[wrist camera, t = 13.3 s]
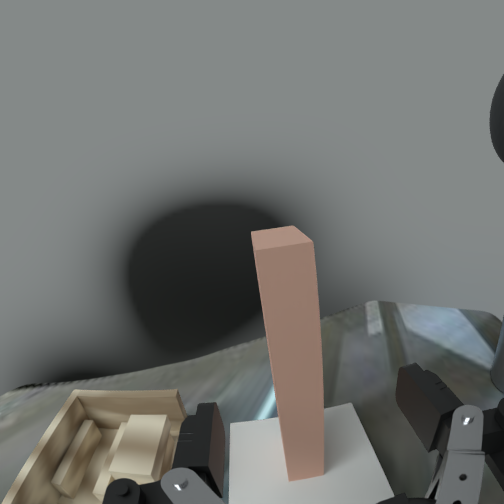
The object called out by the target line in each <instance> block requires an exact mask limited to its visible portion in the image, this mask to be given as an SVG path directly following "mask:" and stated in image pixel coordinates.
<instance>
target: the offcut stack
mask: <svg viewBox="0 0 504 504" xmlns="http://www.w3.org/2000/svg"><path fill="white" fill-rule="evenodd" d="M170 429H171V423H170V421H169V418H168V416H167V415H131V416H130V418H129V421H128V423H127V425H126V428H125V430H124V433H123V435H122V438H121V440H120V443H119V445H118V448H117V450H116V453H115V455H114V458H113V460H112V463H111V465H110V468H109V470H108V471H109V472H110V474H111V475H112V476H113V478H114V479H115V480H117V479H120V478H129V479H132V480H134V481H135V482H136V483H137V484H138V485H140V484H146V483H151V482H156V481H159V480H161V479H162V477H163V475H164V474H165V473H167V472H168V471H170V470H171V468H172V464H173V460H174V455H175V450H176V446H177V442H178V437H177V436H171V434H170Z"/></svg>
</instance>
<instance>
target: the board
mask: <svg viewBox="0 0 504 504" xmlns="http://www.w3.org/2000/svg"><path fill="white" fill-rule="evenodd" d="M251 236H252V242H253V249H254V256H255V262H256V269H257V276H258V282H259V289H260V296H261V303H262V309H263V316H264V322H265V330H266V336H267V343H268V350H269V357H270V363H271V370H272V377H273V384H274V390H275V397H276V404H277V411H278V417H279V424H280V431H281V438H282V444H283V450H284V456H285V462H286V468H287V474H288V480H289V482H290V481H296V480H302V479H307V478H313V477H317V476H322V475H324V394H323V367H322V346H321V329H320V316H319V301H318V288H317V276H316V267H315V255H314V246H313V241H312V240H311V239H309V238H308V237H307V236H306V235H304V234H303V233H302V232H301V231H299V230H298V229H297V228H296V227H294V226H288V227H281V228H273V229H267V230H260V231H253V232H251Z"/></svg>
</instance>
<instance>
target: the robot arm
mask: <svg viewBox="0 0 504 504" xmlns="http://www.w3.org/2000/svg"><path fill="white" fill-rule="evenodd" d="M490 133H491V139H492V143H493V146H494V149H495V151H496V153H497V154H498V156H499V158H500V159H501V160H502V161H503V162H504V74H503V76H502V78H501V80H500V82H499V84H498V86H497V88H496V91H495V94H494V97H493V100H492V105H491V110H490ZM491 379H492V381H493V383H494V385H495V386H496V387H497V388H498V389H499V390H500V391H502V392H503V393H504V317H503V322H502V327H501V332H500V337H499V341H498V345H497V349H496V353H495V357H494V361H493V365H492V368H491ZM396 401H397V404H398V406H399V408H400V409H401V411H402V412H403V414H404V415H405V417H406V418H407V420H408V421H409V423H410V424H411V426H412V428H413V429H414V431H415V432H416V434H417V435H418V437H419V439H420V440H421V442H422V443H423V445H424V447H425V448H426V450H427V451H428V452H430V451H433V450H435V449H437V450H438V451H439V454H438V456H437V460H436V464H435V468H434V472H433V475H432V479H431V482H430V486H429V489H428V491H427V494H426V496H425V498H407V496H406V494H405V493H403V494H400V495H397V496H394V497H392V498H389V499H386V500H383V501H380V502H378V503H376V504H478V500H479V495H480V489H481V483H482V476H483V469H484V460H485V462H486V463H487V465H488V467H489V468H490V470H491V471H492V473H493V474H494V476H495V478H496V479H497V481H498V482H499V484H500V486H501V487H502V489H503V491H504V398H503V399H501V400H500V402H499V404H498V407H497V408H494V409H489V410H485V411H481V410H480V409H479V408H478V407H476V406H473V405H464V404H463V403H462V402H461V401H460V400H459V399H458V398H457V397H456V395H455V394H454V393H453V392H452V391H451V390H450V389H449V388H447V386H446V384H445V383H444V382H442V380H441V379H440V378H439V377H438V376H437V375H436V374H434V373H432V372H430V371H428V370H425V371H423V370H422V369H421V368H420V366H419V365H418V364H417V363H413V364H410V365H406V366H403V367H400V368H399V372H398V379H397V387H396ZM224 454H225V431H224V426H223V423H222V420H221V416H220V413H219V409H218V406H217V403H216V402H213V403H200V404H198V406H197V412H196V415H190V416H187V417H186V418H185V420H184V421H183V422H182V423H181V427H180V432H179V436H178V442H177V446H176V450H175V455H174V460H173V464H172V468H171V470H170V471H168V472H167V473H165V474H164V475H163V477H162V479H161V480H159V481H156V482H151V483H146V484H140V485H138V484H137V483H136V482H135V481H134V480H132V479H129V478H120V479H117V480H114V481H113V482H111V483H110V484H109V485H108V487H107V488H106V491H105V495H104V498H103V502H102V504H225V503H224V502H223V501H222V500H221V499H220V498H223V478H224Z"/></svg>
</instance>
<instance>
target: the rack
mask: <svg viewBox="0 0 504 504" xmlns="http://www.w3.org/2000/svg"><path fill="white" fill-rule="evenodd" d="M131 415H167V416H168V418H169V421H170V423H171V429H170V434H171V436H177V437H178V436H179V432H180V427H181V423H182V422H183V421H184V420H185V418H186V417H187V414H186V411H185V408H184V405H183V403H182V400H181V397H180V394H179V392H178V389H173V390H149V391H97V390H74V391H73V392H72V394H71V395H70V396H69V398H68V399H67V401H66V402H65V404H64V405H63V407H62V408H61V409H60V411H59V412H58V414H57V415H56V417H55V418H54V420H53V421H52V423H51V424H50V426H49V427H48V429H47V430H46V432H45V433H44V435H43V436H42V438H41V439H40V441H39V443H38V444H37V446H36V447H35V449H34V450H33V452H32V453H31V455H30V457H29V458H28V460H27V461H26V463H25V465H24V466H23V468H22V470H21V471H20V473H19V475H18V476H17V478H16V480H15V481H14V483H13V485H12V486H11V488H10V490H9V491H8V493H7V495H6V497H5V498H4V500H3V502H2V504H102V502H103V498H104V495H105V491H106V488H107V487H108V485H109V484H110V483H111V482H113V481H114V480H115V479H114V478H113V476H112V475H111V474H110V472H109V471H108V470H109V468H110V465H111V463H112V460H113V458H114V455H115V453H116V450H117V448H118V445H119V443H120V440H121V438H122V435H123V433H124V430H125V428H126V425H127V423H128V421H129V418H130V416H131Z"/></svg>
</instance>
